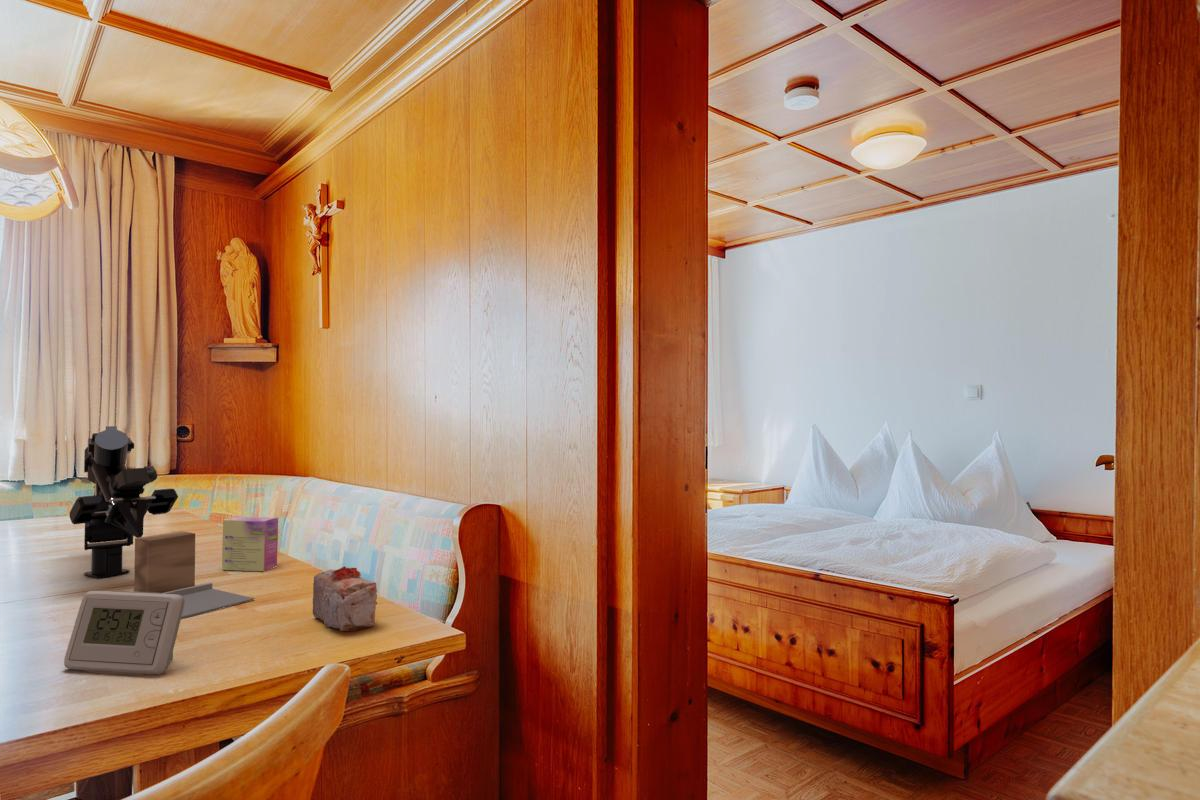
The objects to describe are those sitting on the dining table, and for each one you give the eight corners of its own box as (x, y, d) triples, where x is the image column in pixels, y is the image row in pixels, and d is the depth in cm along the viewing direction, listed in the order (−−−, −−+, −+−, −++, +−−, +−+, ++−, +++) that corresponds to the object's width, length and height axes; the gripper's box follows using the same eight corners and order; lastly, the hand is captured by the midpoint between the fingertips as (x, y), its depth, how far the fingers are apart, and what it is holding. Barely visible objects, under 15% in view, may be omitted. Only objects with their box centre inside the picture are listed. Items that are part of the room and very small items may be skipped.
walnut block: (134, 599, 137) (134, 538, 137) (180, 588, 145) (181, 531, 145) (147, 602, 135) (148, 540, 135) (194, 592, 143) (195, 533, 143)
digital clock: (56, 671, 100) (57, 597, 100) (117, 650, 109) (118, 582, 109) (139, 686, 95) (140, 608, 95) (196, 663, 103) (197, 591, 104)
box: (278, 566, 166) (278, 516, 166) (264, 572, 160) (264, 520, 160) (236, 565, 167) (237, 515, 167) (221, 570, 161) (222, 519, 161)
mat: (136, 606, 132) (136, 598, 132) (209, 589, 144) (209, 582, 144) (181, 618, 125) (182, 610, 125) (254, 600, 137) (254, 592, 137)
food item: (383, 627, 121) (384, 570, 121) (339, 638, 115) (339, 578, 115) (346, 610, 130) (347, 558, 131) (304, 620, 125) (304, 564, 125)
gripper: (76, 456, 139) (103, 516, 133) (174, 451, 155) (201, 505, 149) (58, 493, 143) (83, 553, 137) (155, 485, 159) (181, 538, 153)
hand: (140, 536), depth 144 cm, fingers closed
